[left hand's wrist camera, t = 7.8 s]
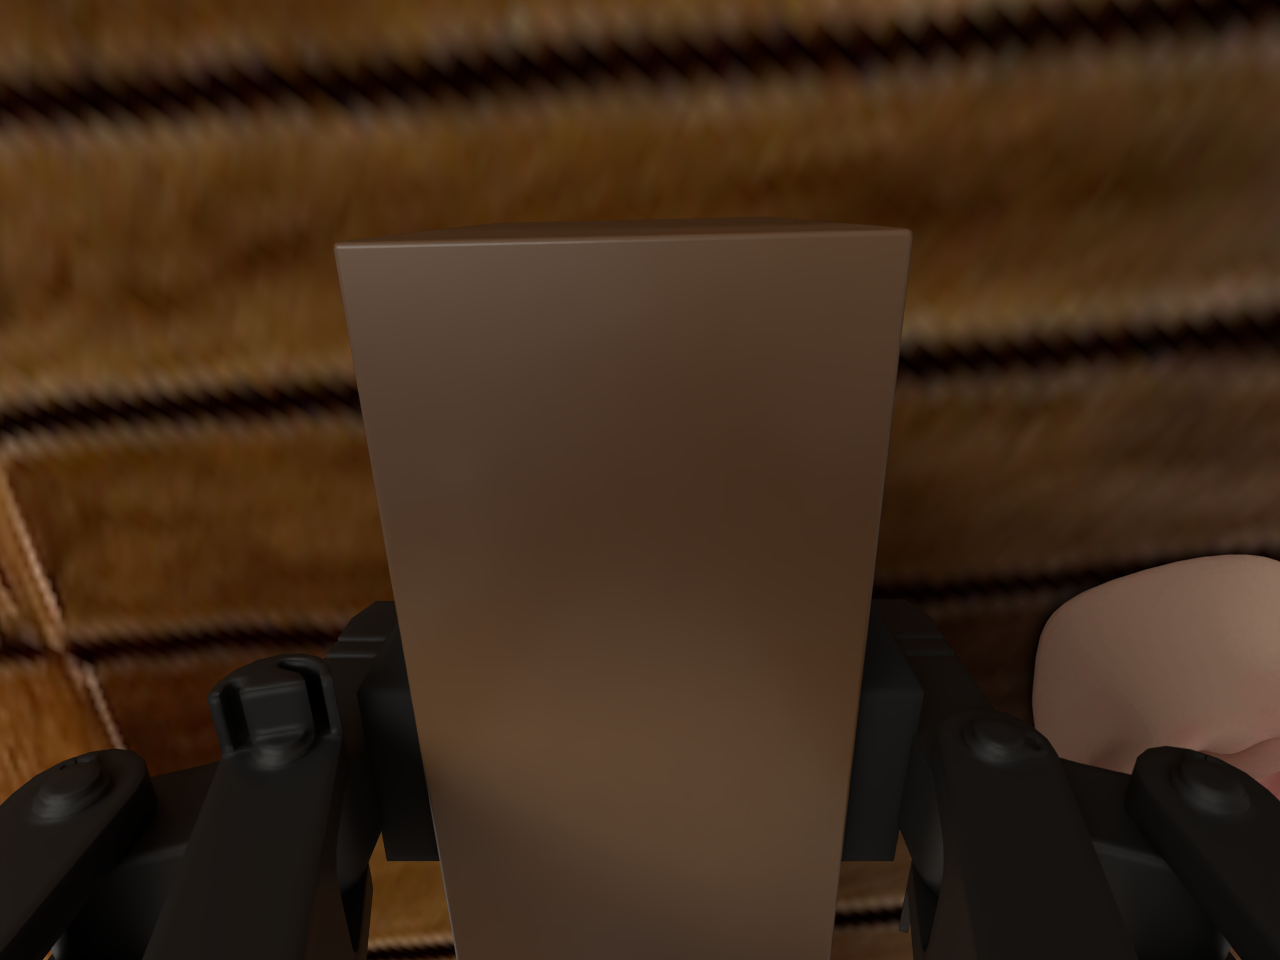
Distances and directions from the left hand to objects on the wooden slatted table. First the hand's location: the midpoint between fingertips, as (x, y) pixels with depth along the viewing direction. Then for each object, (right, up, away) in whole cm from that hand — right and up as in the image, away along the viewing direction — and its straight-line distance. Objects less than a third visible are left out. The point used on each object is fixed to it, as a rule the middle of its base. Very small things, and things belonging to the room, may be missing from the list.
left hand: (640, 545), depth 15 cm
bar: (0, -22, +9) cm, 24 cm away
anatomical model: (+21, -7, +12) cm, 25 cm away
